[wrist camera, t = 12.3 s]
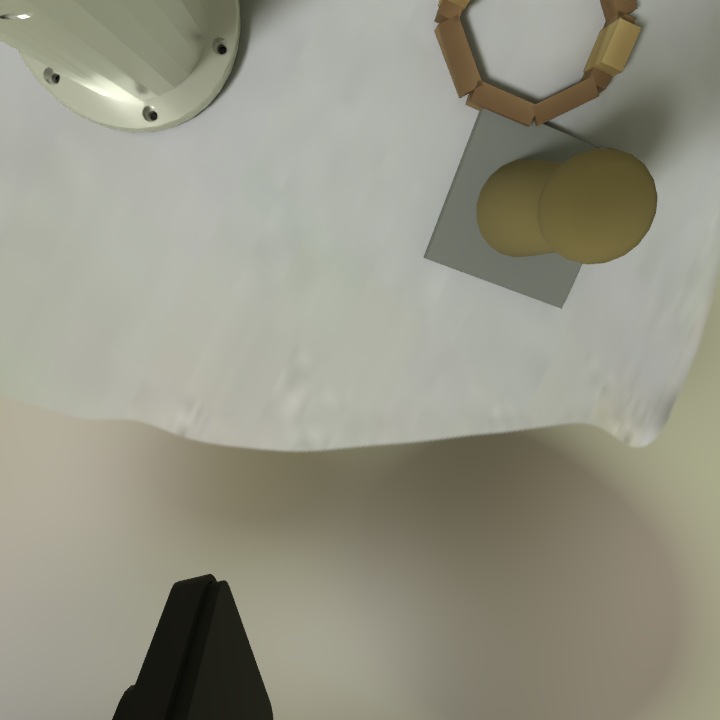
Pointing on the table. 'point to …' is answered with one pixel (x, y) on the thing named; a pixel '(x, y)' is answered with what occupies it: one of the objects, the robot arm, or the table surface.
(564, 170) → the cork
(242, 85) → the table surface
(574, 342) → the table surface
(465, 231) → the pad
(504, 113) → the collar
